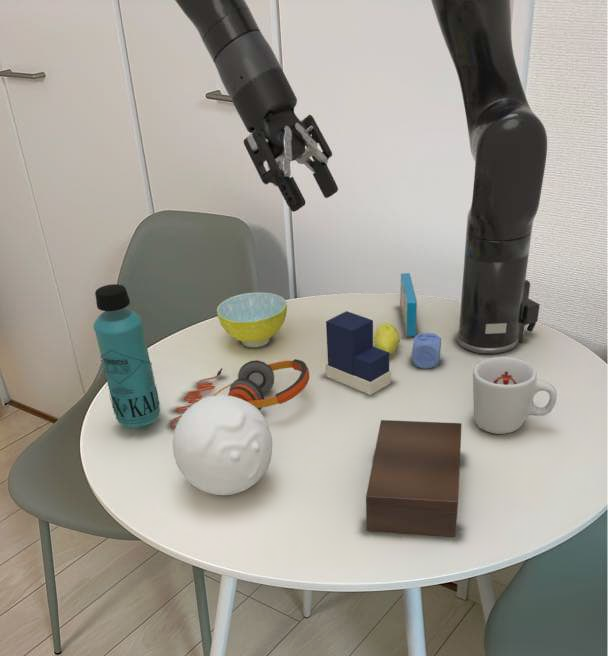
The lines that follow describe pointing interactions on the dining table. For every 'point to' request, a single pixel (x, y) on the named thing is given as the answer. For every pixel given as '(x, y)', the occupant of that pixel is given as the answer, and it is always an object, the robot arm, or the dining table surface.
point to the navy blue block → (355, 354)
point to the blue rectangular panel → (408, 305)
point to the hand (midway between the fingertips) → (316, 201)
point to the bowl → (252, 317)
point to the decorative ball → (222, 445)
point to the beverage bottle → (125, 358)
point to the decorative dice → (426, 350)
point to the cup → (507, 394)
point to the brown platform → (415, 478)
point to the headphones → (257, 384)
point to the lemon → (386, 337)
